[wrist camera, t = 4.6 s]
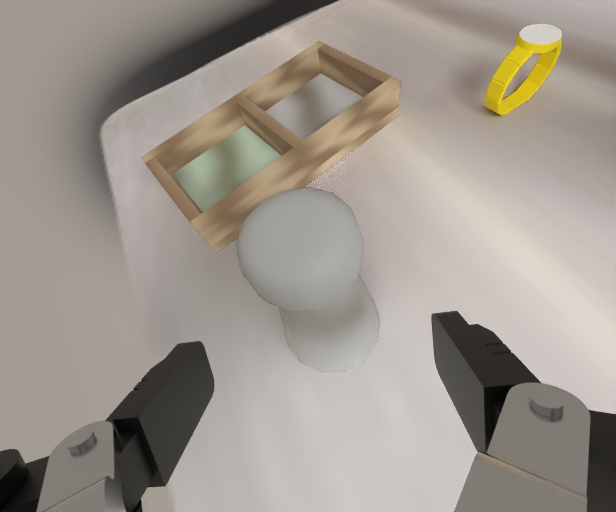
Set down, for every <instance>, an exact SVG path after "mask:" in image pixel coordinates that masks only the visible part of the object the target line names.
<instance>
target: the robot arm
mask: <svg viewBox="0 0 616 512" xmlns="http://www.w3.org/2000/svg"><path fill="white" fill-rule="evenodd" d="M431 320H432V334H433V347H434V358H435V363H436V367H437V370H438V373H439V376H440V378H441V380H442V382H443V384H444V386H445V388H446V390H447V392H448V394H449V396H450V398H451V400H452V402H453V404H454V406H455V408H456V410H457V412H458V414H459V416H460V418H461V420H462V422H463V424H464V426H465V428H466V430H467V432H468V434H469V435H470V437H471V439H472V441H473V443H474V445H475V447H476V449H477V451H478V453H477V454H476V456H475V459H474V461H473V464H472V466H471V469H470V471H469V474H468V477H467V479H466V482H465V485H464V487H463V490H462V492H461V495H460V498H459V500H458V503H457V506H456V508H455V511H454V512H616V414H610V413H603V412H597V411H592V410H588V409H587V407H586V406H585V405H584V404H583V403H582V401H580V400H579V399H578V398H577V397H575V396H574V395H572V394H571V393H569V392H567V391H565V390H563V389H560V388H558V387H555V386H551V385H547V384H543V383H541V382H540V381H539V380H538V379H537V378H536V377H535V376H534V375H533V374H532V373H531V372H530V371H529V369H528V368H527V367H526V366H525V365H524V364H523V363H522V362H521V361H520V360H519V359H518V358H517V357H516V356H515V355H514V354H513V353H511V350H510V349H509V348H508V347H507V346H506V345H505V344H503V342H502V341H501V340H500V339H499V338H498V337H497V336H496V335H495V334H494V332H492V331H490V330H488V329H486V328H484V327H483V326H481V325H479V324H474V325H469V324H468V323H467V322H466V321H465V320H464V318H463V317H462V316H461V315H460V314H459V313H458V312H457V311H450V312H442V313H434V314H432V319H431ZM213 392H214V378H213V374H212V371H211V368H210V364H209V361H208V358H207V354H206V351H205V348H204V345H203V344H202V342H200V341H196V342H187V343H180V344H177V345H176V346H175V348H174V349H173V350H172V351H171V352H170V353H169V355H168V356H167V357H166V358H165V359H164V360H163V361H161V362H160V363H158V364H157V365H156V366H154V367H153V368H151V369H150V371H149V372H148V373H147V374H146V375H145V376H144V377H143V378H142V381H141V382H139V383H138V384H137V385H136V386H135V387H134V390H133V391H131V392H130V393H129V394H128V395H127V397H126V398H125V399H124V400H123V401H122V402H121V403H120V404H119V406H118V407H117V408H116V409H115V410H114V411H113V413H112V414H111V415H110V416H109V417H108V418H107V419H106V420H105V421H100V422H95V423H92V424H89V425H86V426H84V427H82V428H80V429H78V430H77V431H75V432H73V433H72V434H70V435H69V436H68V437H66V438H65V439H64V440H63V441H62V442H60V443H59V444H58V445H57V447H56V448H55V449H54V450H53V451H52V453H51V455H50V456H48V457H45V458H42V459H39V460H36V461H33V462H30V463H26V464H25V462H24V460H23V458H22V457H21V455H20V453H19V451H18V450H15V449H9V450H4V451H1V452H0V512H147V509H146V503H145V500H144V498H143V494H144V492H145V490H146V489H147V487H160V486H166V484H167V482H168V481H169V479H170V477H171V475H172V473H173V471H174V469H175V467H176V465H177V463H178V461H179V459H180V457H181V455H182V454H183V452H184V450H185V448H186V446H187V444H188V442H189V440H190V438H191V436H192V434H193V432H194V430H195V428H196V427H197V425H198V423H199V421H200V419H201V417H202V415H203V413H204V411H205V409H206V407H207V405H208V403H209V401H210V400H211V398H212V395H213Z"/></svg>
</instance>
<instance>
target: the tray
mask: <svg viewBox="0 0 616 512" xmlns="http://www.w3.org/2000/svg"><path fill="white" fill-rule="evenodd" d="M400 86H401V81H400V80H398V79H396V78H394V77H392V76H390V75H388V74H386V73H384V72H382V71H380V70H378V69H376V68H374V67H371V66H369V65H367V64H365V63H363V62H361V61H359V60H357V59H355V58H353V57H351V56H349V55H347V54H345V53H343V52H341V51H339V50H337V49H334V48H332V47H330V46H328V45H326V44H324V43H322V42H320V41H318V42H316V43H315V44H313V45H312V46H310V47H309V48H307V49H306V50H304V51H303V52H301V53H300V54H298V55H297V56H295V57H293V58H292V59H290V60H289V61H287V62H286V63H284V64H283V65H281V66H280V67H278V68H277V69H275V70H274V71H272V72H271V73H269V74H267V75H266V76H264V77H263V78H261V79H260V80H258V81H257V82H255V83H254V84H252V85H251V86H249V87H248V88H246V89H245V90H243V91H241V92H240V93H238V94H237V95H235V96H234V97H232V98H231V99H229V100H228V101H226V102H225V103H223V104H222V105H220V106H219V107H217V108H215V109H214V110H212V111H211V112H209V113H208V114H206V115H205V116H203V117H202V118H200V119H199V120H197V121H196V122H194V123H193V124H191V125H189V126H188V127H186V128H185V129H183V130H182V131H180V132H179V133H177V134H176V135H174V136H173V137H171V138H170V139H168V140H167V141H165V142H163V143H162V144H160V145H159V146H157V147H156V148H154V149H153V150H151V151H150V152H148V153H147V154H145V155H144V156H142V157H141V158H142V160H143V161H144V162H145V164H146V165H147V166H148V168H149V169H150V170H151V172H152V173H153V174H154V176H155V177H156V178H157V180H158V181H159V182H160V184H161V185H162V186H163V187H164V189H165V190H166V191H167V193H168V194H169V195H170V197H171V198H172V199H173V201H174V202H175V203H176V205H177V206H178V207H179V209H180V210H181V211H182V213H183V214H184V215H185V217H186V218H187V219H188V220H189V222H190V223H191V224H192V226H193V227H194V228H195V230H196V231H197V232H198V233H199V234H200V235H201V236H202V238H203V239H204V240H205V241H206V242H207V243H208V244H209V245H210V246H211V247H212V249H213V250H214V251H215V252H216V253H217V252H218V251H220V250H221V249H222V248H224V247H225V246H226V245H228V244H229V243H230V242H232V241H233V240H234V239H236V238H237V237H238V236H239V233H240V231H241V228H242V225H243V223H244V220H245V219H246V218H247V217H248V216H249V214H250V213H251V212H252V211H253V210H254V209H255V208H256V207H257V206H258V205H259V203H260V202H261V201H263V200H265V199H267V198H269V197H271V196H273V195H275V194H278V193H280V192H282V191H284V190H289V189H297V188H303V187H305V186H306V185H307V184H309V183H310V182H311V181H313V180H314V179H315V178H317V177H318V176H319V175H321V174H322V173H323V172H325V171H326V170H327V169H329V168H330V167H331V166H333V165H334V164H335V163H336V162H338V161H339V160H340V159H342V158H343V157H344V156H346V155H347V154H348V153H350V152H351V151H352V150H354V149H355V148H356V147H358V146H359V145H360V144H362V143H363V142H364V141H366V140H367V139H368V138H370V137H371V136H372V135H374V134H375V133H376V132H378V131H379V130H380V129H382V128H383V127H384V126H386V125H387V124H388V123H390V122H391V121H392V120H394V119H395V118H396V117H398V111H399V98H400Z"/></svg>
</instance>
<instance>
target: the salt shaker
mask: <svg viewBox="0 0 616 512" xmlns="http://www.w3.org/2000/svg"><path fill="white" fill-rule="evenodd" d="M236 245H237V252H238V258H239V265H240V268H241V270H242V273H243V275H244V276H245V278H246V279H247V280H248V282H249V283H250V284H251V286H252V287H253V288H254V289H255V291H256V292H257V293H258V295H259V296H260V297H261V298H263V299H264V300H265V301H266V302H269V303H271V304H274V305H276V306H279V310H280V314H281V317H282V321H283V325H284V329H285V334H286V339H287V343H288V346H289V348H290V349H291V350H292V352H293V353H294V354H295V356H296V357H297V358H298V360H299V361H300V362H301V363H302V364H305V365H307V366H309V367H311V368H313V369H315V370H317V371H320V372H322V373H325V372H346V371H347V370H349V369H351V368H353V367H355V366H356V365H358V364H360V363H362V362H363V361H365V360H366V358H367V357H368V355H369V354H370V352H371V351H372V349H373V348H374V346H375V345H376V343H377V342H378V335H379V326H380V317H379V314H378V312H377V309H376V306H375V303H374V300H373V298H372V296H371V294H370V293H369V291H368V289H367V287H366V285H365V284H364V282H363V280H362V278H361V277H360V275H359V273H360V266H361V259H362V252H363V237H362V235H361V232H360V229H359V227H358V224H357V221H356V219H355V216H354V214H353V211H352V209H351V207H350V206H349V205H347V204H346V203H345V202H344V201H342V200H341V199H340V198H339V197H337V196H336V195H335V194H333V193H331V192H327V191H324V190H320V189H316V188H312V187H304V188H297V189H289V190H284V191H282V192H280V193H278V194H275V195H273V196H271V197H269V198H267V199H265V200H263V201H261V202H260V203H259V205H258V206H257V207H256V208H255V209H254V210H253V211H252V212H251V213H250V214H249V216H248V217H247V218H246V219H245V220H244V223H243V225H242V228H241V231H240V233H239V236H238V239H237V241H236Z"/></svg>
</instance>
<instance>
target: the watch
mask: <svg viewBox="0 0 616 512" xmlns="http://www.w3.org/2000/svg"><path fill="white" fill-rule="evenodd" d="M561 37H562V32H561V31H560V30H559V29H558V28H557V27H555V26H552V25H547V24H534V25H529V26H527V27H524V28H523V29H522V30H520V32H519V34H518V36H517V39H516V41H515V43H516V46H515V47H514V49H513V50H512V51H511V52H510V53H509V54H508V55H507V56H506V57H505V60H503V62H502V63H501V65H500V66H499V68H498V69H497V71H496V73H495V74H494V76H493V79H491V82H490V84H489V87H488V90H487V92H486V96H485V98H486V107H487V108H489V109H490V110H492V111H494V112H496V113H497V114H499V115H501V116H504V115H506V114H507V113H509V112H510V111H512V110H513V109H515V108H516V107H518V106H519V105H521V104H523V103H524V102H527V100H529V99H530V98H531V97H532V96H533V94H534V93H535V92H536V91H537V90H538V89H539V88H540V85H542V84H543V82H544V81H545V80H546V78H547V77H548V75H549V74H550V72H551V71H552V68H553V67H554V65H555V63H556V61H557V59H558V57H559V54H560V51H561V43H562V39H561ZM532 54H540V56H539V58H538V61H537V63H536V64H535V66H534V68H533V69H532V71H531V72H530V74H529V75H528V77H527V79H526V80H525V81H524V82H523V83H522V84H521V85H520V87H519V88H518V89H517V90H516V91H515V92H514V93H513V94H511V95H510V96H508V97H506V98H505V99H503V100H502V98H503V96H504V94H505V91H506V89H507V87H508V85H509V83H510V82H511V80H512V79H513V77H514V76H515V74H516V73H517V72H518V70H519V69H520V67H521V66H522V65H523V64H524V63H525V62H526V61H527V60H528V59H529V57H530V56H531V55H532ZM501 100H502V101H501Z"/></svg>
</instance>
